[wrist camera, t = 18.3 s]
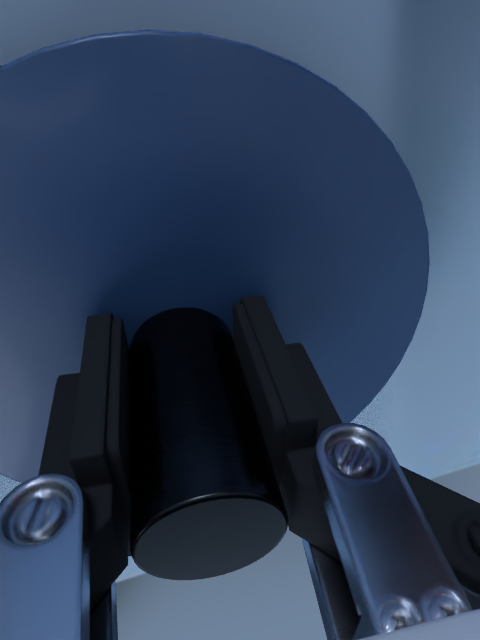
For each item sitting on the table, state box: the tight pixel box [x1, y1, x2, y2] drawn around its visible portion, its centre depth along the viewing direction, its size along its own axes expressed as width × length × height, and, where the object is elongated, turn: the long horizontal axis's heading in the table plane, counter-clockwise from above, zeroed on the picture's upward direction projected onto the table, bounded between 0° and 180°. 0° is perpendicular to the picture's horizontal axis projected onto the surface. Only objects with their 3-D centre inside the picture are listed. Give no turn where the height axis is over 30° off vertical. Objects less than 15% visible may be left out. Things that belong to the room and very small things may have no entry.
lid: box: [0, 30, 429, 580], centre depth 9 cm, size 13×13×6 cm
